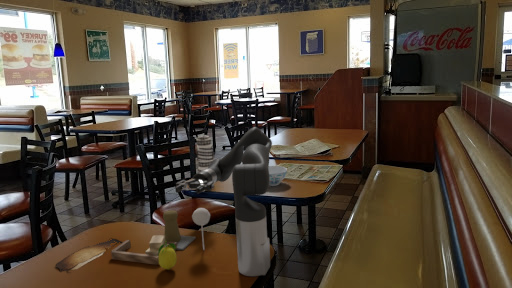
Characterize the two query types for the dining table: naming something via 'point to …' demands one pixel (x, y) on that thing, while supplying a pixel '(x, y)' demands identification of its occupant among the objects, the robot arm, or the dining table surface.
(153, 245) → the offcut upper
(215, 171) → the robot arm
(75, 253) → the parchment
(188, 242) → the pad
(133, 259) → the frame
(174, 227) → the cork
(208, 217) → the lollipop
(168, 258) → the lemon
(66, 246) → the dining table surface
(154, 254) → the offcut lower
